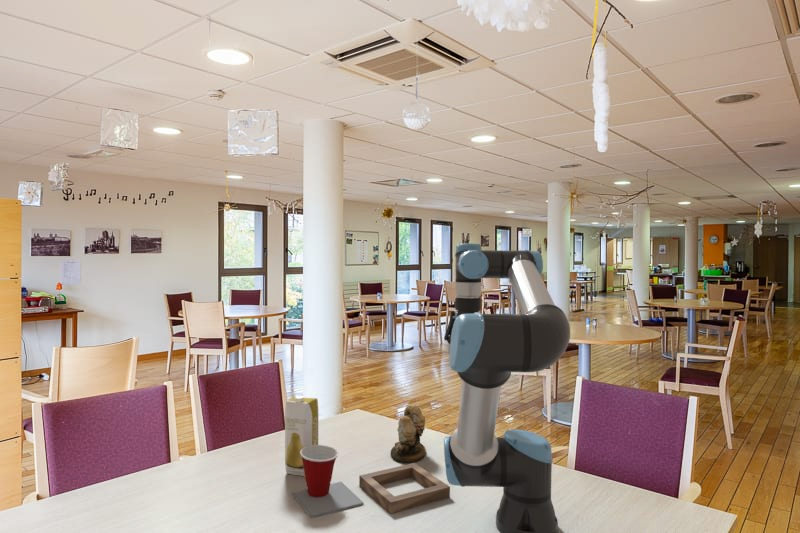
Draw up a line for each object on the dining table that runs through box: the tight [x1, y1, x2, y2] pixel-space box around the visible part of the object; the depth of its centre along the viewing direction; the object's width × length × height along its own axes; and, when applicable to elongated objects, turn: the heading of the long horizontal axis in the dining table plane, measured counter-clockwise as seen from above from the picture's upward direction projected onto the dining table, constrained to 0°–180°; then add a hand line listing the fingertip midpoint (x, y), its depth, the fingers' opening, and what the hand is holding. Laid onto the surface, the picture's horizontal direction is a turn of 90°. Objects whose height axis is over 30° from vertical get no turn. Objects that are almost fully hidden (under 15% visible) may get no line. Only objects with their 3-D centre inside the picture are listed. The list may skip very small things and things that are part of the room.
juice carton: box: [284, 395, 319, 477], centre depth 164 cm, size 9×8×24 cm
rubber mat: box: [291, 481, 365, 518], centre depth 146 cm, size 15×15×1 cm
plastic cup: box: [300, 444, 339, 497], centre depth 149 cm, size 11×11×12 cm
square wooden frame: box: [358, 462, 451, 514], centre depth 151 cm, size 19×19×3 cm
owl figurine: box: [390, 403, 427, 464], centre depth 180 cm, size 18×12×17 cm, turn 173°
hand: (467, 369), depth 153 cm, fingers open, 13 cm apart
